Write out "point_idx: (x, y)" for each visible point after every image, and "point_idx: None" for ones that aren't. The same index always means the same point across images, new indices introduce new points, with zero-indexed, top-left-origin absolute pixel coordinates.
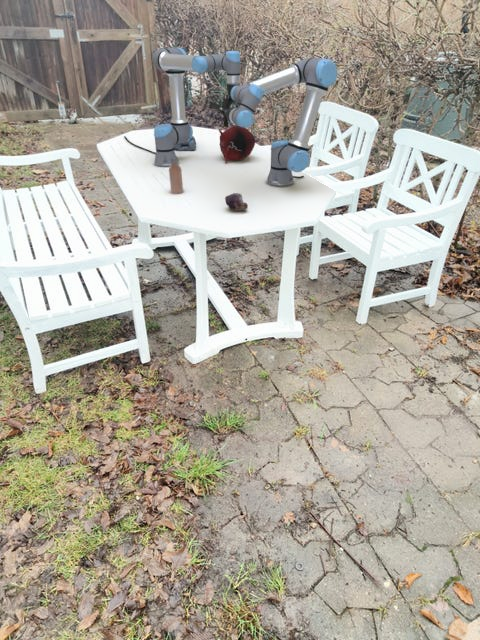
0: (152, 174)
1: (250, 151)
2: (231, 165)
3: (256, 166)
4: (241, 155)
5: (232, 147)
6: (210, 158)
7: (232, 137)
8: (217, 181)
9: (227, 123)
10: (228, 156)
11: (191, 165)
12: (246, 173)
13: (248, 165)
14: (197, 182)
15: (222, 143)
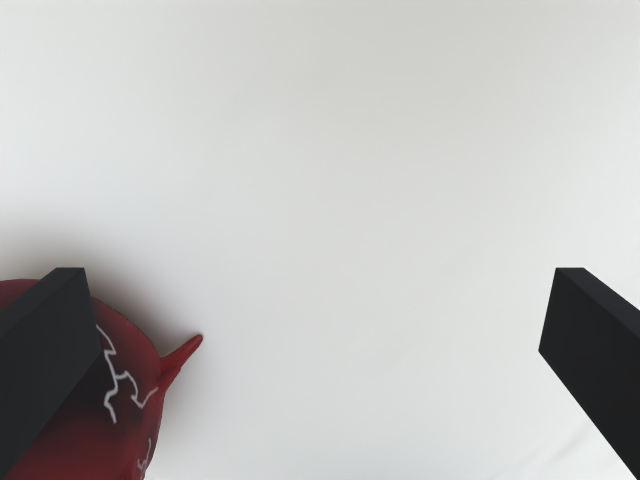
0: (611, 465)
1: (6, 280)
2: (200, 289)
3: (83, 150)
4: (93, 300)
5: (126, 374)
6: (195, 459)
7: (75, 442)
8: (528, 115)
9: (620, 303)
10: (164, 361)
11: (365, 441)
12: (257, 87)
13: (113, 209)
14: (613, 200)
15: (143, 467)
